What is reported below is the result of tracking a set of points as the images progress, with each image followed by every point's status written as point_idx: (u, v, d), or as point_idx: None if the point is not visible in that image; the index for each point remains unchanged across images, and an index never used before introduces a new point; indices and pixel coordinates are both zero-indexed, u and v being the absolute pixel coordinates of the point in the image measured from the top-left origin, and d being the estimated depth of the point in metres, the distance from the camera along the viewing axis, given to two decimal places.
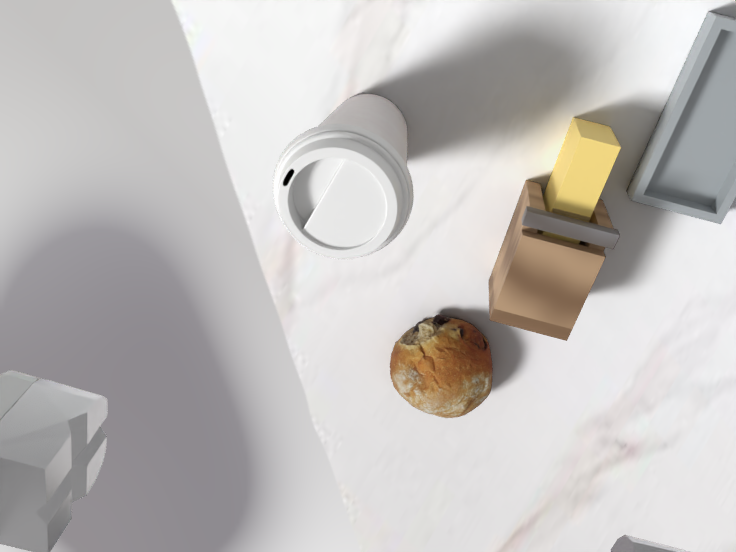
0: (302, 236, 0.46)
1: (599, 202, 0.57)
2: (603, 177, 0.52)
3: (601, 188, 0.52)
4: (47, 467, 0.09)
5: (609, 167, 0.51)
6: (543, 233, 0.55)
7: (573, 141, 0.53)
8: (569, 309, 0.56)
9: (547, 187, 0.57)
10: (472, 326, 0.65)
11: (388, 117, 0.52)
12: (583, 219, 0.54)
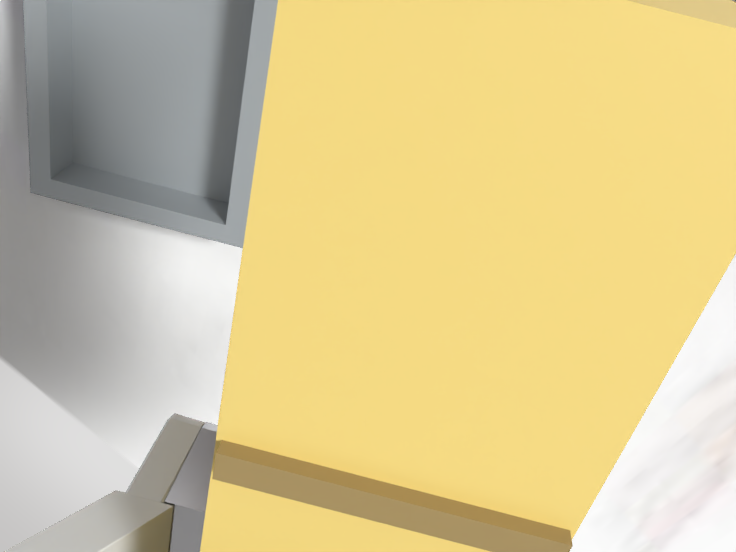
0: None
1: None
2: None
3: None
4: None
5: None
6: (677, 329, 0.05)
7: None
8: None
9: None
10: None
11: None
12: (274, 458, 0.06)
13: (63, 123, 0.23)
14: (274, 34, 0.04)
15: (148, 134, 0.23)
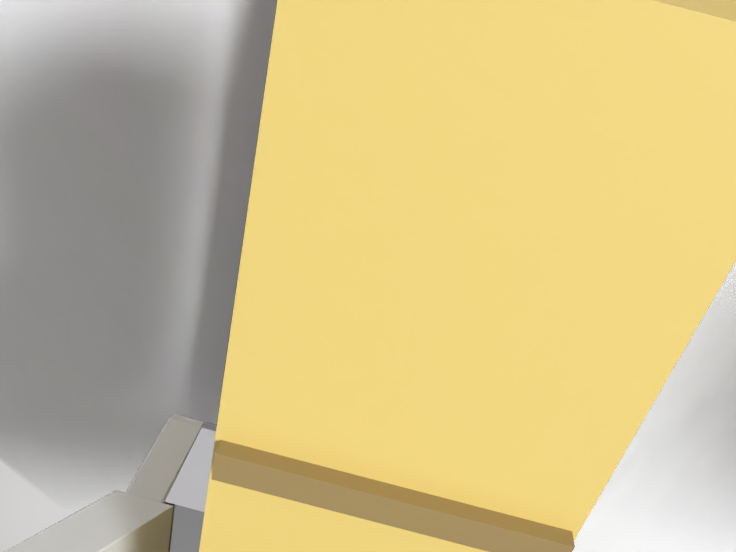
0: None
1: None
2: None
3: None
4: None
5: None
6: (682, 328, 0.05)
7: None
8: None
9: None
10: None
11: None
12: (273, 459, 0.05)
13: None
14: (274, 29, 0.04)
15: None
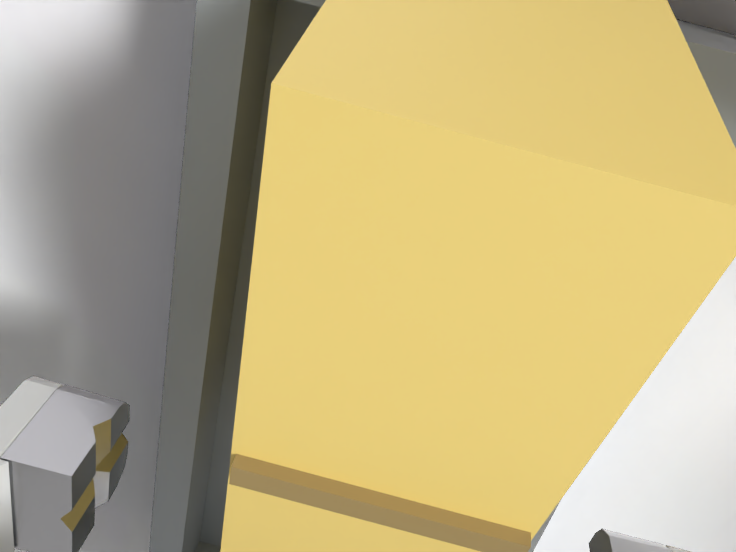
0: None
1: None
2: None
3: None
4: (73, 474, 0.09)
5: None
6: (619, 399, 0.05)
7: None
8: None
9: None
10: None
11: None
12: (279, 471, 0.07)
13: (197, 516, 0.15)
14: (262, 173, 0.04)
15: None
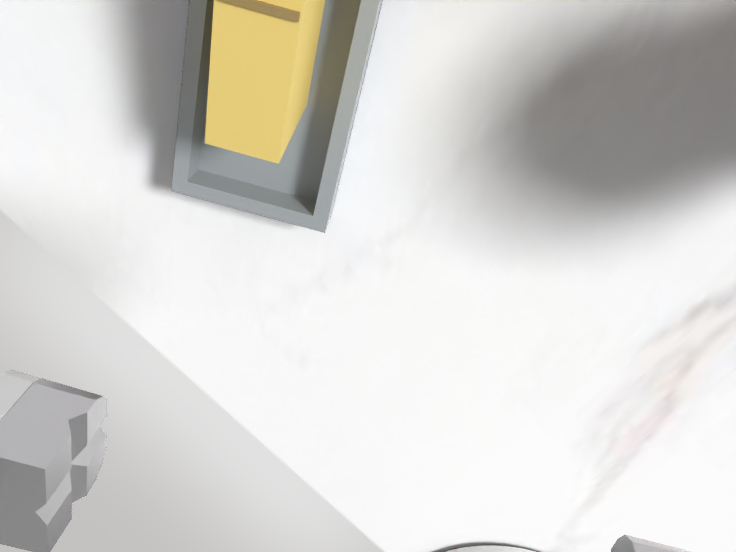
0: None
1: None
2: (216, 87, 0.25)
3: (212, 64, 0.25)
4: (47, 467, 0.09)
5: (211, 107, 0.26)
6: None
7: (292, 121, 0.28)
8: None
9: None
10: None
11: None
12: None
13: (197, 141, 0.32)
14: None
15: None
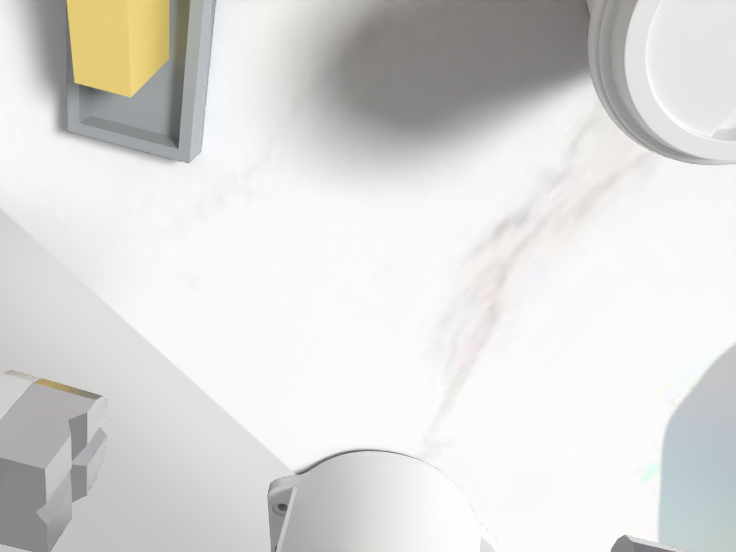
0: None
1: None
2: (76, 37, 0.34)
3: (70, 18, 0.33)
4: (47, 467, 0.09)
5: (75, 52, 0.34)
6: None
7: (144, 66, 0.36)
8: None
9: None
10: None
11: None
12: None
13: (86, 91, 0.40)
14: None
15: (135, 97, 0.41)
